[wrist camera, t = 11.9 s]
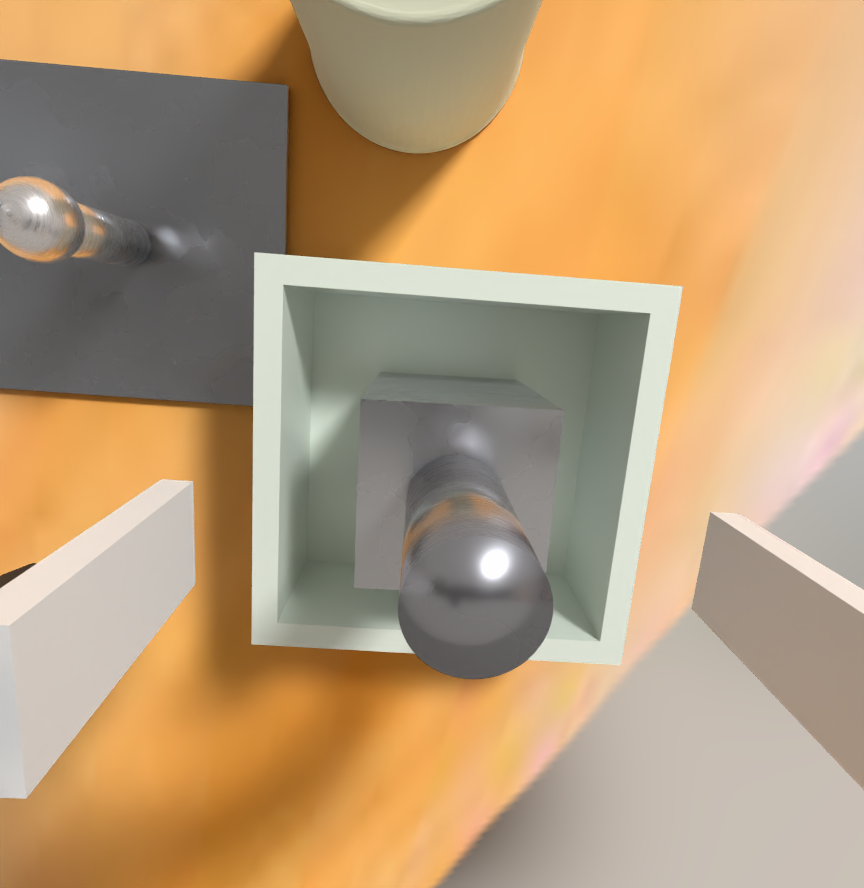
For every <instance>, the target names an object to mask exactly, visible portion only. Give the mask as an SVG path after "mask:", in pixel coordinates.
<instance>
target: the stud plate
mask: <svg viewBox="0 0 864 888" xmlns="http://www.w3.org/2000/svg"><path fill="white" fill-rule="evenodd" d="M289 114H290V88H289V86H288V85H281V84H270V83H259V82H248V81H237V80H226V79H214V78H203V77H192V76H181V75H170V74H159V73H148V72H137V71H125V70H114V69H103V68H92V67H81V66H70V65H59V64H48V63H36V62H25V61H14V60H3V59H0V388H4V389H18V390H32V391H47V392H61V393H75V394H89V395H103V396H118V397H132V398H146V399H160V400H174V401H189V402H203V403H217V404H231V405H245V406H253V370H254V252H257V253H270V254H282V255H287V220H288V167H289Z"/></svg>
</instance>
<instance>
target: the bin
mask: <svg viewBox="0 0 864 888" xmlns="http://www.w3.org/2000/svg"><path fill="white" fill-rule="evenodd" d="M682 289H683V286H671V285H659V284H646V283H634V282H621V281H609V280H596V279H583V278H571V277H558V276H546V275H533V274H521V273H508V272H496V271H483V270H471V269H458V268H445V267H433V266H420V265H408V264H395V263H383V262H370V261H358V260H345V259H333V258H320V257H307V256H295V255H282V254H270V253H257V252H254V370H253V508H252V644H254V645H272V646H290V647H308V648H325V649H343V650H361V651H379V652H397V653H414V652H413V651H412V650H411V648H410V647H409V645H408V644H407V642H406V640H405V638H404V636H403V634H402V631H401V628H400V624H399V618H398V599H399V590H386V589H365V588H354V570H355V541H356V512H357V482H358V453H359V424H360V399H361V397H362V396H363V395H364V393H365V392H366V391H367V389H368V388H369V386H370V385H371V384H372V382H373V381H374V380H375V378H376V377H377V376H378V374H379V373H380V372H393V373H410V374H427V375H443V376H460V377H477V378H494V379H511V380H518V381H520V382H521V383H523V384H524V385H526V386H527V387H529V388H530V389H532V390H533V391H535V392H536V393H538V394H539V395H541V396H543V397H544V398H546V399H547V400H549V401H550V402H552V403H553V404H555V405H556V406H558V407H559V408H561V409H562V410H564V416H563V425H562V434H561V443H560V451H559V460H558V469H557V478H556V487H555V496H554V505H553V514H552V522H551V531H550V540H549V549H548V558H547V567H546V577H547V579H548V581H549V584H550V587H551V591H552V595H553V617H552V622H551V625H550V628H549V631H548V633H547V635H546V637H545V639H544V641H543V643H542V644H541V646H540V647H539V648H538V649H537V651H536V652H535V653H534V654H533V655H532V656H531V657H530V658H529V659H528V660H539V661H557V662H575V663H592V664H610V665H621V662H622V656H623V650H624V643H625V637H626V631H627V625H628V619H629V613H630V607H631V601H632V595H633V588H634V582H635V576H636V570H637V564H638V558H639V552H640V546H641V540H642V534H643V527H644V521H645V515H646V509H647V503H648V497H649V491H650V485H651V479H652V473H653V466H654V460H655V454H656V448H657V442H658V436H659V430H660V424H661V418H662V411H663V405H664V399H665V393H666V387H667V381H668V375H669V369H670V363H671V357H672V350H673V344H674V338H675V332H676V326H677V320H678V314H679V308H680V302H681V296H682ZM414 654H415V653H414Z"/></svg>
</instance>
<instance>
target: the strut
mask: <svg viewBox="0 0 864 888" xmlns="http://www.w3.org/2000/svg"><path fill="white" fill-rule="evenodd" d="M563 416H564V410H562V409H561V408H559V407H558V406H556V405H555V404H553V403H552V402H550V401H549V400H547V399H546V398H544V397H543V396H541V395H539V394H538V393H536V392H535V391H533V390H532V389H530V388H529V387H527V386H526V385H524V384H523V383H521V382H520V381H518V380H511V379H494V378H477V377H460V376H443V375H427V374H410V373H393V372H380V373H379V374H378V376H377V377H376V378H375V380H374V381H373V382H372V384H371V385H370V386H369V388H368V389H367V391H366V392H365V393H364V395H363V396H362V397H361V399H360V424H359V453H358V482H357V512H356V541H355V570H354V588H365V589H386V590H399V599H398V618H399V624H400V628H401V631H402V634H403V636H404V638H405V640H406V642H407V644H408V645H409V647H410V648H411V650H412V651H413V652H414V653H415V654H416V656H417V657H418V658H420V659H421V660H422V661H423V662H424V663H425V664H427V665H428V666H430V667H431V668H433V669H435V670H437V671H439V672H441V673H444V674H447V675H449V676H453V677H458V678H464V679H483V678H490V677H494V676H498V675H501V674H504V673H506V672H509V671H511V670H513V669H515V668H516V667H518V666H520V665H521V664H522V663H524V662H525V661H526V660H528V659H529V658H530V657H531V656H532V655H533V654H534V653H535V652H536V651H537V649H538V648H539V647H540V646H541V644H542V643H543V641H544V639H545V637H546V635H547V633H548V631H549V628H550V625H551V622H552V617H553V595H552V591H551V587H550V584H549V581H548V579H547V577H546V567H547V558H548V549H549V540H550V531H551V522H552V514H553V505H554V496H555V487H556V478H557V469H558V460H559V451H560V443H561V434H562V425H563Z"/></svg>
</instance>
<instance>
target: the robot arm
mask: <svg viewBox="0 0 864 888" xmlns="http://www.w3.org/2000/svg"><path fill="white" fill-rule="evenodd" d="M194 585H195V543H194V490H193V481H181V480H165V479H161V480H160V481H158V482H157V483H155V484H154V485H152V486H151V487H149V488H148V489H146V490H145V491H144V492H142V493H141V494H139V495H138V496H136V497H135V498H133V499H132V500H130V501H129V502H127V503H126V504H124V505H123V506H121V507H120V508H118V509H117V510H115V511H114V512H112V513H111V514H109V515H108V516H107V517H105V518H104V519H102V520H101V521H99V522H98V523H96V524H95V525H93V526H92V527H90V528H89V529H87V530H86V531H84V532H83V533H81V534H80V535H78V536H77V537H75V538H74V539H73V540H71V541H70V542H68V543H67V544H65V545H64V546H62V547H61V548H59V549H58V550H56V551H55V552H53V553H52V554H50V555H49V556H47V557H46V558H44V559H43V560H41V561H40V562H39V563H32V564H29V565H26V566H24V567H21V568H19V569H16V570H14V571H11V572H8V573H6V574H3V575H1V576H0V798H24V799H27V797H28V796H29V795H30V794H31V792H32V791H33V790H34V788H35V787H36V786H37V785H38V783H39V782H40V781H41V780H42V778H43V777H44V776H45V774H46V773H47V772H48V771H49V769H50V768H51V767H52V766H53V764H54V763H55V762H56V760H57V759H58V758H59V757H60V755H61V754H62V753H63V752H64V750H65V749H66V748H67V746H68V745H69V744H70V743H71V741H72V740H73V739H74V738H75V736H76V735H77V734H78V732H79V731H80V730H81V729H82V727H83V726H84V725H85V724H86V722H87V721H88V720H89V718H90V717H91V716H92V715H93V713H94V712H95V711H96V710H97V708H98V707H99V706H100V705H101V703H102V702H103V701H104V699H105V698H106V697H107V696H108V694H109V693H110V692H111V691H112V689H113V688H114V687H115V685H116V684H117V683H118V682H119V680H120V679H121V678H122V677H123V675H124V674H125V673H126V671H127V670H128V669H129V668H130V666H131V665H132V664H133V663H134V661H135V660H136V659H137V657H138V656H139V655H140V654H141V652H142V651H143V650H144V649H145V647H146V646H147V645H148V643H149V642H150V641H151V640H152V638H153V637H154V636H155V635H156V633H157V632H158V631H159V629H160V628H161V627H162V626H163V624H164V623H165V622H166V621H167V619H168V618H169V617H170V615H171V614H172V613H173V612H174V610H175V609H176V608H177V607H178V605H179V604H180V603H181V602H182V600H183V599H184V598H185V596H186V595H187V594H188V593H189V591H190V590H191V589H192V588H193V586H194ZM692 610H693V611H694V612H695V613H696V614H697V615H698V616H699V617H700V618H701V619H702V620H703V621H704V622H705V623H706V624H707V625H708V626H709V628H710V629H712V631H713V632H714V633H715V634H716V635H717V636H718V637H719V638H720V639H721V640H722V641H723V642H724V643H725V644H726V645H727V646H728V648H729V649H730V650H731V651H732V652H733V653H734V654H735V655H736V656H737V657H738V658H739V659H740V660H741V661H742V662H743V663H744V664H745V665H746V666H747V668H749V670H750V671H751V672H752V673H753V674H754V675H755V676H756V677H757V678H758V679H759V680H760V681H761V682H762V683H763V684H764V685H765V686H766V687H767V689H768V690H769V691H770V692H771V693H772V694H773V695H774V696H775V697H776V698H777V699H778V700H779V701H780V702H781V703H782V704H783V705H784V706H785V707H786V709H787V710H788V711H789V712H790V713H791V714H792V715H793V716H794V717H795V718H796V719H797V720H798V721H799V722H800V723H801V724H802V725H803V726H804V727H805V729H807V730H808V732H809V733H810V734H811V735H812V736H813V737H814V738H815V739H816V740H817V741H818V742H819V743H820V744H821V745H822V746H823V747H824V748H825V750H826V751H827V752H828V753H829V754H830V755H831V756H832V757H833V758H834V759H835V760H836V761H837V762H838V763H839V764H840V765H841V766H842V767H843V768H844V770H845V771H846V772H847V773H848V774H849V775H850V776H851V777H852V778H853V779H854V780H855V781H856V782H857V783H858V784H859V785H860V786H861V787H862V788H863V789H864V590H863V589H861V588H860V587H858V586H856V585H855V584H853V583H851V582H850V581H848V580H846V579H845V578H843V577H841V576H840V575H838V574H837V573H835V572H833V571H832V570H830V569H828V568H827V567H825V566H824V565H822V564H820V563H819V562H817V561H815V560H814V559H812V558H810V557H809V556H807V555H806V554H804V553H802V552H801V551H799V550H797V549H796V548H794V547H793V546H791V545H789V544H788V543H786V542H784V541H783V540H781V539H780V538H778V537H776V536H775V535H773V534H771V533H770V532H768V531H766V530H765V529H763V528H762V527H760V526H758V525H757V524H755V523H753V522H752V521H750V520H748V519H747V518H745V517H744V516H742V515H740V514H736V513H719V512H710V516H709V522H708V527H707V532H706V537H705V542H704V547H703V553H702V558H701V563H700V568H699V573H698V578H697V583H696V589H695V594H694V599H693V604H692Z"/></svg>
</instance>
